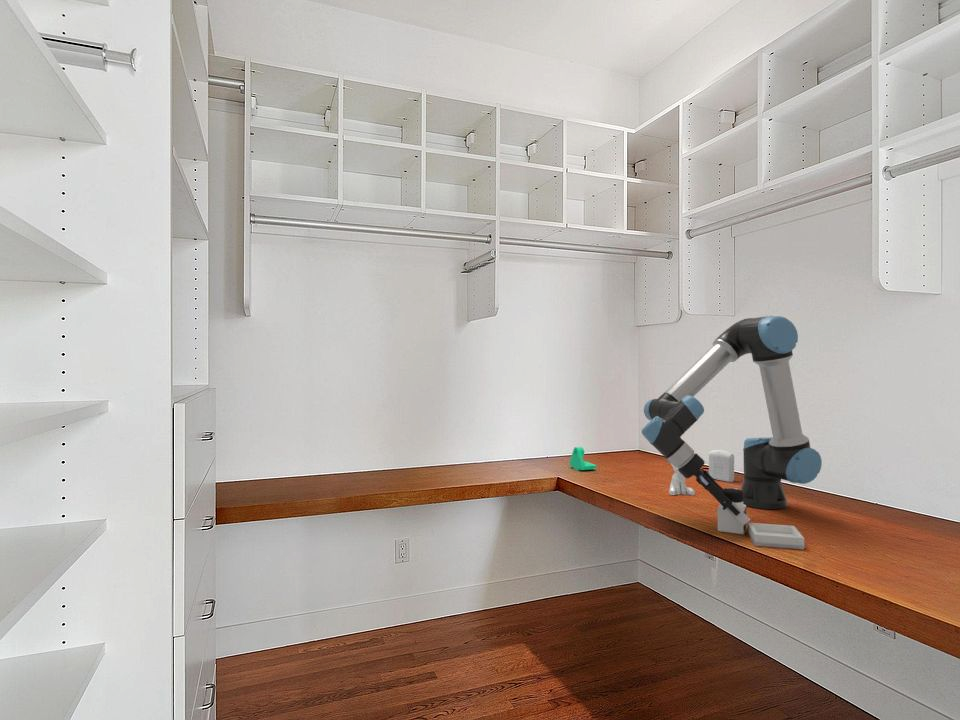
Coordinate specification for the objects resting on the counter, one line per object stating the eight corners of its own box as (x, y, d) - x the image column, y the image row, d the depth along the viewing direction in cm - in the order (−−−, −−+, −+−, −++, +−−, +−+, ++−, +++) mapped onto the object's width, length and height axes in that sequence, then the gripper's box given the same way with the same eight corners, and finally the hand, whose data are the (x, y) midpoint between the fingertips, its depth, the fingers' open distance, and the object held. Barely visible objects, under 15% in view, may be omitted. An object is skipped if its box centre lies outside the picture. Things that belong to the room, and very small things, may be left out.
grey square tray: (747, 533, 171) (747, 522, 171) (793, 536, 167) (793, 525, 167) (754, 545, 159) (754, 534, 159) (804, 549, 156) (804, 538, 156)
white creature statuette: (670, 496, 217) (670, 463, 217) (662, 490, 226) (662, 459, 226) (695, 495, 217) (695, 463, 217) (686, 490, 226) (686, 459, 226)
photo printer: (735, 481, 243) (735, 451, 243) (730, 482, 240) (730, 452, 240) (712, 477, 251) (712, 448, 251) (707, 478, 248) (707, 449, 248)
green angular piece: (597, 471, 266) (597, 448, 266) (582, 472, 264) (582, 449, 264) (584, 466, 277) (584, 444, 277) (569, 467, 275) (569, 445, 275)
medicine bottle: (744, 534, 169) (744, 492, 169) (717, 531, 172) (717, 490, 172) (746, 528, 175) (746, 488, 175) (720, 525, 179) (720, 485, 179)
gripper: (675, 463, 188) (730, 517, 184) (678, 476, 168) (739, 537, 163) (693, 447, 187) (748, 501, 182) (698, 458, 166) (760, 519, 162)
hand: (744, 518), depth 173 cm, fingers closed on medicine bottle, 8 cm apart
